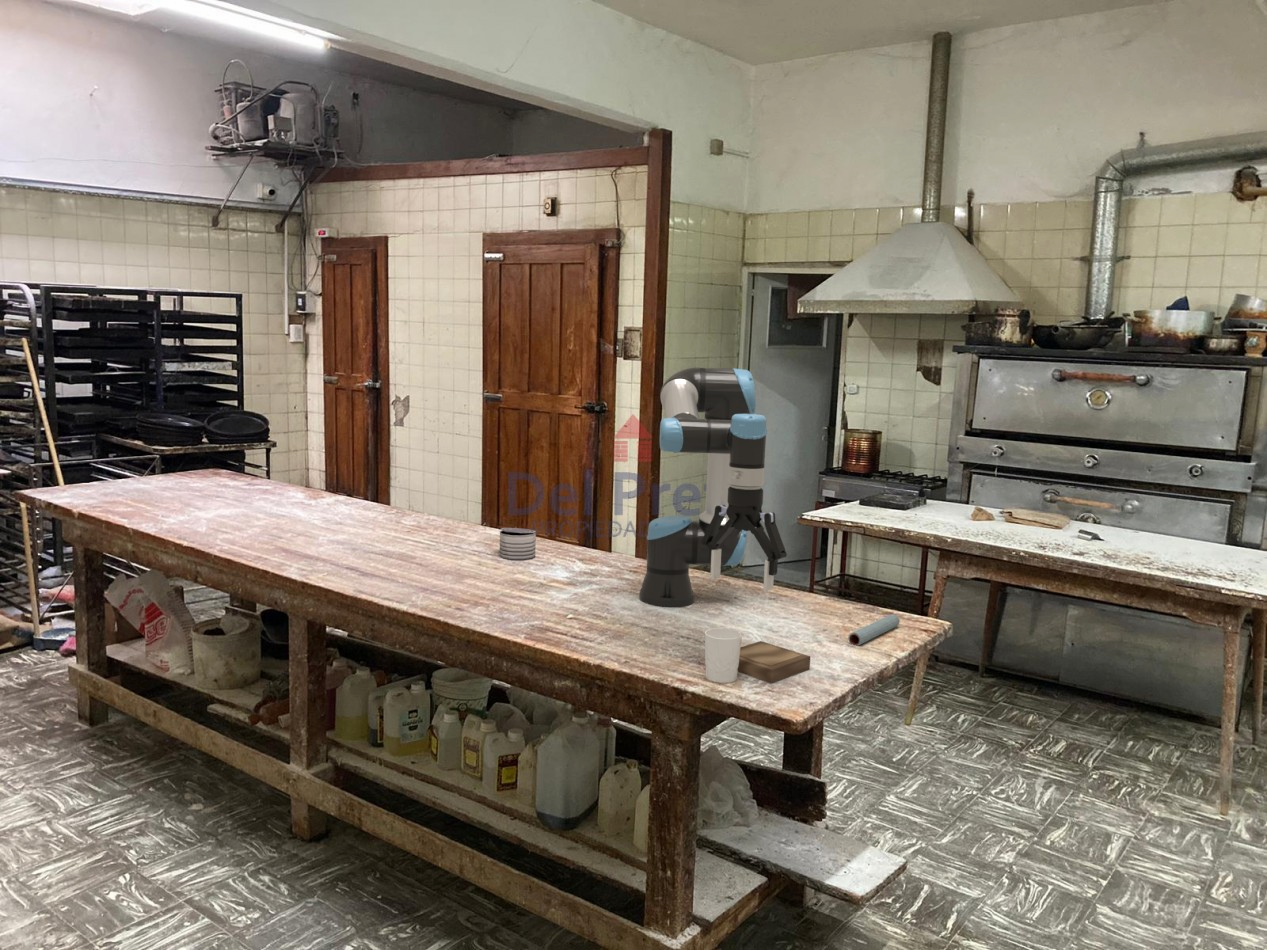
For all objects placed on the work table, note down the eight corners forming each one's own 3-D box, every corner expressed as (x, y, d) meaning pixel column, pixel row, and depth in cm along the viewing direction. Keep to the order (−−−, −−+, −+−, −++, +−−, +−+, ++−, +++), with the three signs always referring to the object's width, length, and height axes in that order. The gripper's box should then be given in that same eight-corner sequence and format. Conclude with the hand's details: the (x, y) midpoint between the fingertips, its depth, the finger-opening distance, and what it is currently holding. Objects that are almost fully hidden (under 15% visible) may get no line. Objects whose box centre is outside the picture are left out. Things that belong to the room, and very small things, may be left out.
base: (721, 666, 211) (721, 652, 211) (760, 653, 221) (760, 640, 220) (771, 683, 201) (771, 669, 201) (809, 669, 211) (810, 655, 210)
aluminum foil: (887, 625, 248) (888, 612, 248) (911, 630, 244) (912, 617, 244) (847, 644, 231) (848, 631, 231) (872, 651, 227) (873, 637, 226)
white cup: (698, 681, 201) (700, 635, 200) (708, 669, 209) (710, 625, 207) (734, 686, 199) (736, 640, 197) (743, 675, 206) (745, 630, 205)
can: (492, 564, 299) (492, 527, 297) (521, 560, 307) (521, 523, 305) (513, 571, 291) (513, 533, 289) (542, 566, 298) (543, 529, 297)
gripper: (688, 481, 206) (684, 576, 209) (787, 495, 190) (782, 597, 193) (708, 478, 212) (704, 571, 214) (806, 491, 196) (800, 591, 199)
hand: (741, 584), depth 204 cm, fingers open, 13 cm apart
